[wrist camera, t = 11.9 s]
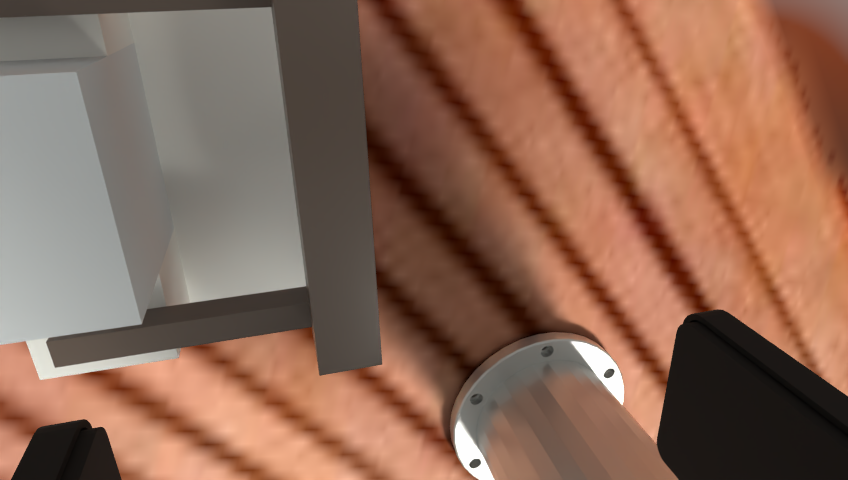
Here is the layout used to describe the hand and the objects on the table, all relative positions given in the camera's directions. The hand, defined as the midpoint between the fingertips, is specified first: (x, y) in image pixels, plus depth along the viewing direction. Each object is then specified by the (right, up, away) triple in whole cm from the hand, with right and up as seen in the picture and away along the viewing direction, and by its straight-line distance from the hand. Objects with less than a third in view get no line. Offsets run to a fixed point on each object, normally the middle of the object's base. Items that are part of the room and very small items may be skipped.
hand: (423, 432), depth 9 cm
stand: (-11, +8, +18) cm, 23 cm away
